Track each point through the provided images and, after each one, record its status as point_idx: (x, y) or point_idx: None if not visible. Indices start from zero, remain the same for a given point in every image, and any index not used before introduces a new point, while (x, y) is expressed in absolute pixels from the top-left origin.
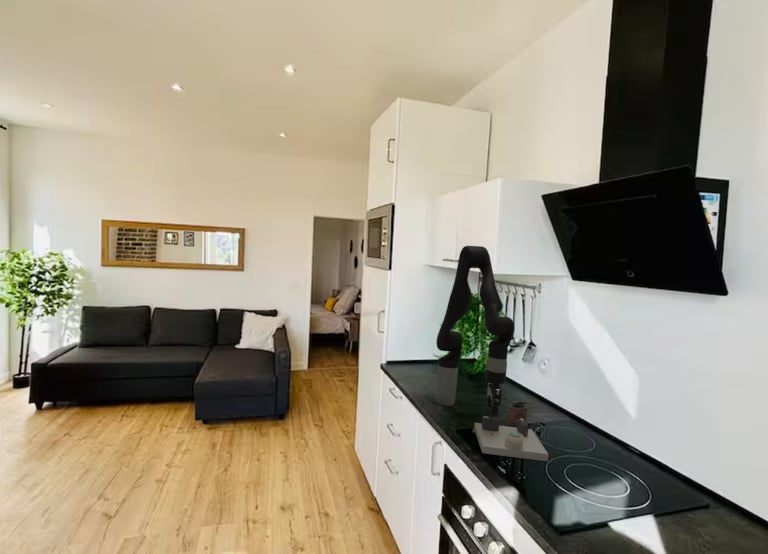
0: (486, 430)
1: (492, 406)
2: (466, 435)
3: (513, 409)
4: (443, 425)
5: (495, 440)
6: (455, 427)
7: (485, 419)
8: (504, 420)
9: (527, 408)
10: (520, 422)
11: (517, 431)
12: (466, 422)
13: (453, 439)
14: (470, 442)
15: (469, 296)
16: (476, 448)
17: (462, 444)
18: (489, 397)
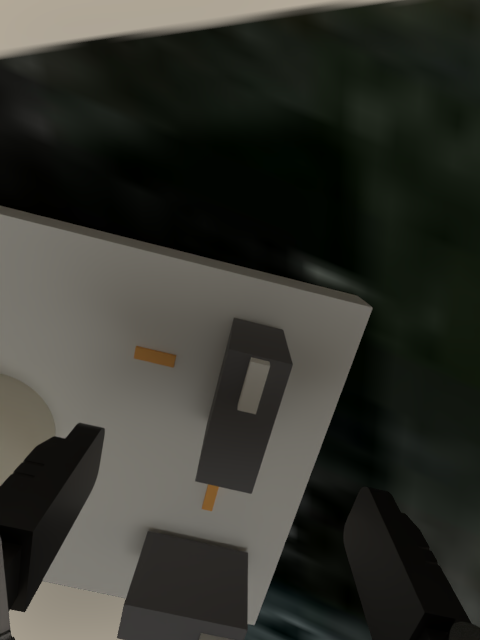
0: (224, 342)
1: (6, 513)
2: (246, 186)
3: None
4: (441, 30)
5: (60, 339)
6: (391, 142)
7: (224, 363)
8: (463, 544)
9: None
10: (174, 615)
11: (221, 539)
12: (471, 277)
13: (170, 35)
14: (133, 174)
15: None
16: (46, 184)
17: (92, 89)
18: (426, 636)
